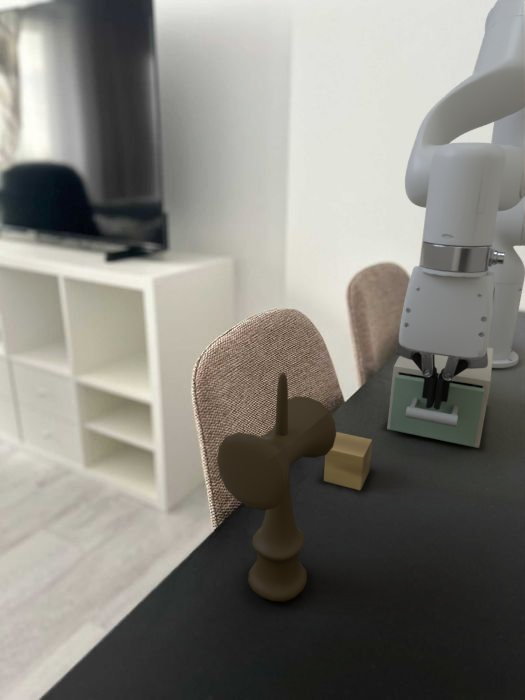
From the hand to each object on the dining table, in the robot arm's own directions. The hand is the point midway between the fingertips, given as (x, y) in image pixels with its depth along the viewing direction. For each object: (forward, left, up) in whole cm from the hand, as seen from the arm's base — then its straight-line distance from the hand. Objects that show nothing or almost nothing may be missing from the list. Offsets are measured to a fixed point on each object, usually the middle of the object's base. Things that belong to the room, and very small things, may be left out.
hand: (434, 404), depth 65 cm
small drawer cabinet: (-11, 0, -7) cm, 13 cm away
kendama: (+29, -9, -7) cm, 31 cm away
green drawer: (-6, 0, -6) cm, 8 cm away
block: (+10, -8, -7) cm, 15 cm away
